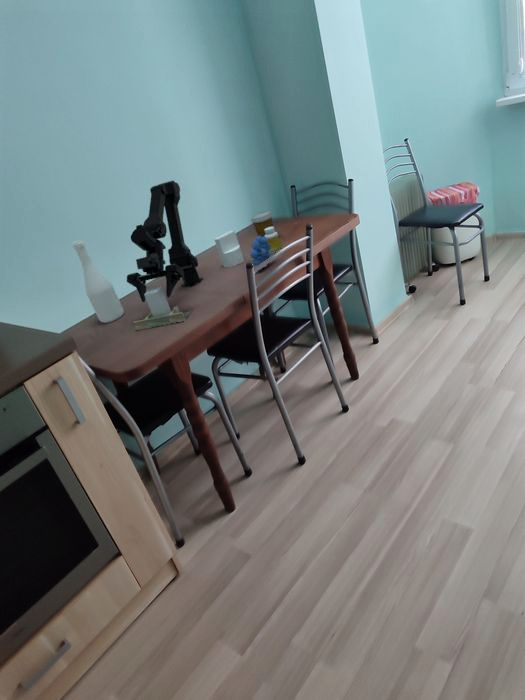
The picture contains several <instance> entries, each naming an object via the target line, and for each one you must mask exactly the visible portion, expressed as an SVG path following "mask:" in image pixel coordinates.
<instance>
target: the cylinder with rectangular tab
mask: <svg viewBox="0 0 525 700" xmlns="http://www.w3.org/2000/svg"><path fill="white" fill-rule="evenodd" d="M214 243H215V245H216V248H217V251H218V255H219V258H220V261H221V264H222V267H223V268H225V267H228V268H232V266H233V267H236V266H238V265H237V264H239V263H241V262H242V263H244V261H245V258H244V255H243V252H242V249H241V245H240V244H239V240H238V237H237V235H236V231H235V230H230V231H227V232H226V233H224V234H222V235H220V236H217V237H216V238H214ZM243 260H244V261H243ZM242 263H241V264H242ZM235 265H236V266H235ZM239 265H240V264H239Z"/></svg>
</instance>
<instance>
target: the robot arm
mask: <svg viewBox="0 0 525 700" xmlns="http://www.w3.org/2000/svg"><path fill="white" fill-rule="evenodd" d="M180 193H181V187H180V185H179V183H178V182H175V181H174V180H170V181H167V182H163V183H159V184H157V185H153V186H151V187H150V203H149V211H148V216H147V218H146V219H145V220H144V222H143V224H138V225H136V226H135V229H134V230H133V231H132V233H131V235H130V240H131V242H132V243H133V244H135V245H136V246H137V247H138V248H139V249H141V250H142V251H145V253H146V254H145V256H144V257H140V258H137V259H135V261H136V266H137V270H142V272H143V273H146V274H141V273H139V272H138V271H137V272H132V273H129V274H127V275H126V283H128V284H129V285H131V286H133V287H135V288H136V290H137V292H138V295H139V297H140V299H141V302H142V303H145V302H146V298H145V296H144V294H145V293H146V292H147V286H146V284H147V281H151V280H154V279H158V278H164V277H165V281H166V282H165V283H166V289H165V291H166V298H170V296H171V295H172V293H173V291H174V289H175V288H176V287H175V286H176V285H177V283H178V281H181V279H182V282H183V283H182V284H181V285H180V286H181V287H193V286H195V285H196V284H197V283H199V282H201V281H202V280H203V277H200V276H199V273H198V271H197V268H196V267H199V262H198V258H197V257H196V256H195V255H193V253H192V251H191V249H190V248H189V247H188V245H187V244H186V243H185V240H184V238H185V237H184V233H183V228H182V222H181V218H180V212H179V207H178V205H179V202H180V200H181V194H180ZM164 212H165V216H166V221H167V224H166V223H165V222H164ZM167 227H168V229H167ZM167 231H169V235H170V236H169V237H170V242H171V247H170V248H168V251H167V253H168V260H169V261H168V262H169V264H168V265H166V260H165V259H164V250H166V249H167V248H166V245H165V244H164V242H163V241H162V240H161V239H163V238H165V237H166V236H167ZM164 266H165V267H164Z"/></svg>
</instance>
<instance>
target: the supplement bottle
mask: <svg viewBox="0 0 525 700" xmlns="http://www.w3.org/2000/svg"><path fill="white" fill-rule="evenodd" d="M264 230H265V233H266V235H265V237H266V238H267V240H268V241H267V243H269V244H270V246H271V248H270V250H269V251H268V252H269V253H270V254H271V255H272V254H276V253H275V252H277V251H278V250H280V249H281V248H282V244H281V241H280V240H281V239H280V237H279V234H278V232H277V231H275V226H273V227H268V228H266V229H264ZM277 253H278V252H277Z"/></svg>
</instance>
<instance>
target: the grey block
mask: <svg viewBox="0 0 525 700" xmlns="http://www.w3.org/2000/svg"><path fill="white" fill-rule="evenodd" d="M144 296H145V298H146V299H145V301H146V302H147V305H148V307H149V310H150V312H152V314H153V317H159V316H164V315H169V314H170V313H171V311H172V309H171V307H170V305H169V303H168V299H167V296H166V295H165V293H164V291H163V287H162V286H156V287H153V288H152V287H151V288H149V289H148V290H146V293H145V294H144Z"/></svg>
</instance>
